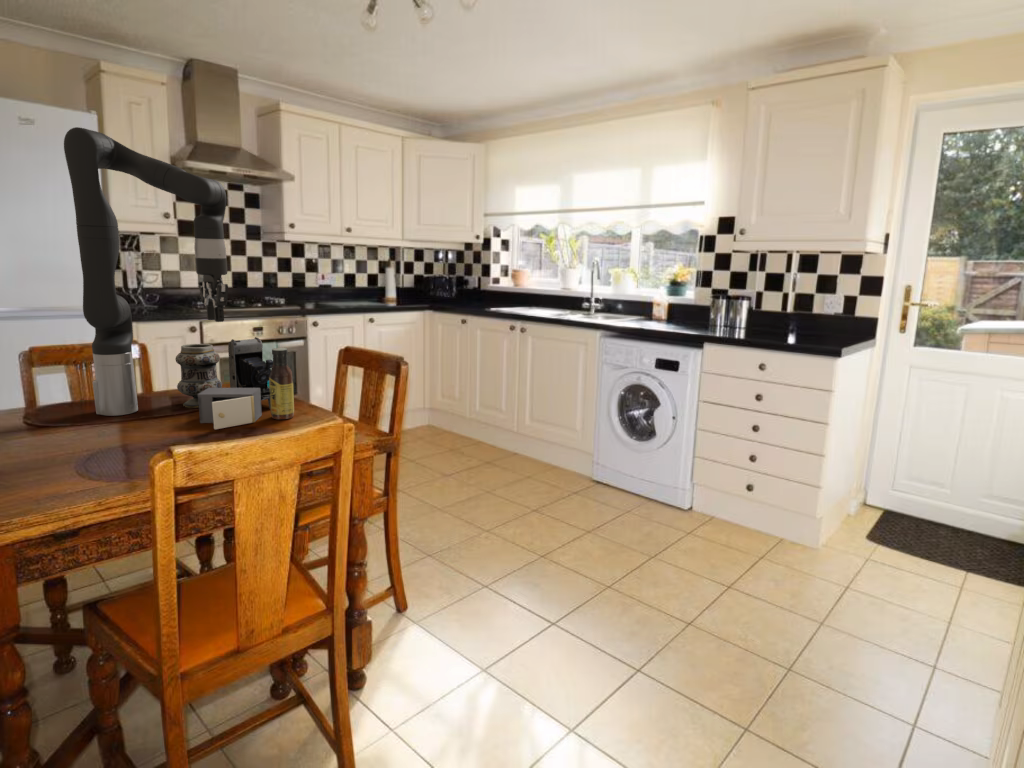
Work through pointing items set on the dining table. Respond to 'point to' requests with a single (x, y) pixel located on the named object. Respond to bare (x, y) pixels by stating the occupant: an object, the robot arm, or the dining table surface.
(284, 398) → the sauce bottle
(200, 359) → the apothecary jar
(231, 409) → the door
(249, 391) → the case
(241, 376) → the vintage camera
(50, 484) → the dining table surface
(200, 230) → the robot arm
